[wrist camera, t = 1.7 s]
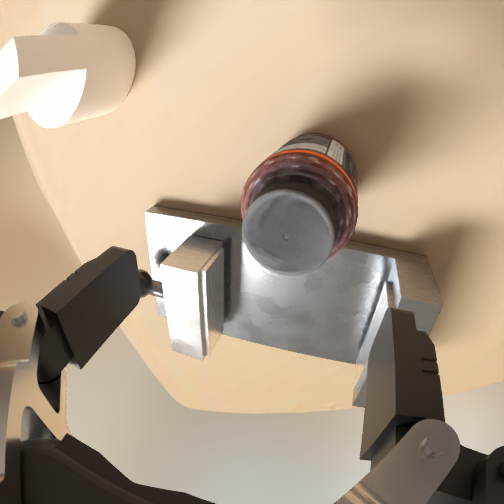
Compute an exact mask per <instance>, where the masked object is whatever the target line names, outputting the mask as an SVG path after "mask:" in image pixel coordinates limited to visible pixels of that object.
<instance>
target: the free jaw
mask: <svg viewBox="0 0 504 504" xmlns="http://www.w3.org/2000/svg"><path fill="white" fill-rule="evenodd" d="M160 269H161V277H162V282H161V281H157V280H153V279H152V277H151V275H150V274H149V273H148V272H147V271H145V270H142V269H138V273H139V279H140V285H141V296H140V298H142V297H145V296H147V295H148V294H149V295H153V296H156V297H160V298H163V299H164V300H165V307H166V314H167V320H168V326H169V333H170V339H171V345H172V350H173V351H175V352H178V353H181V354H184V355H187V356H191V357H194V358H197V359H200V360H204V358H205V356H208V357H210V355H211V353H212V351H213V349H214V348H215V346H216V344H217V342H218V340H219V339H220V337H221V335H222V333H223V331H224V248H223V242H222V241H217V240H212V239H207V238H202V237H197V236H191V235H189V236H188V237H187V238H186V239H185V240H184V241H183V242H182V243H181V244H180V245H179V246H178V247H177V248H176V249H175V250H174V251H173V252H172V253H171V254H170V255H169V256H168V257H167V258H166V259H165V260H164V261H163V262H162V263H161V264H160Z"/></svg>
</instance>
